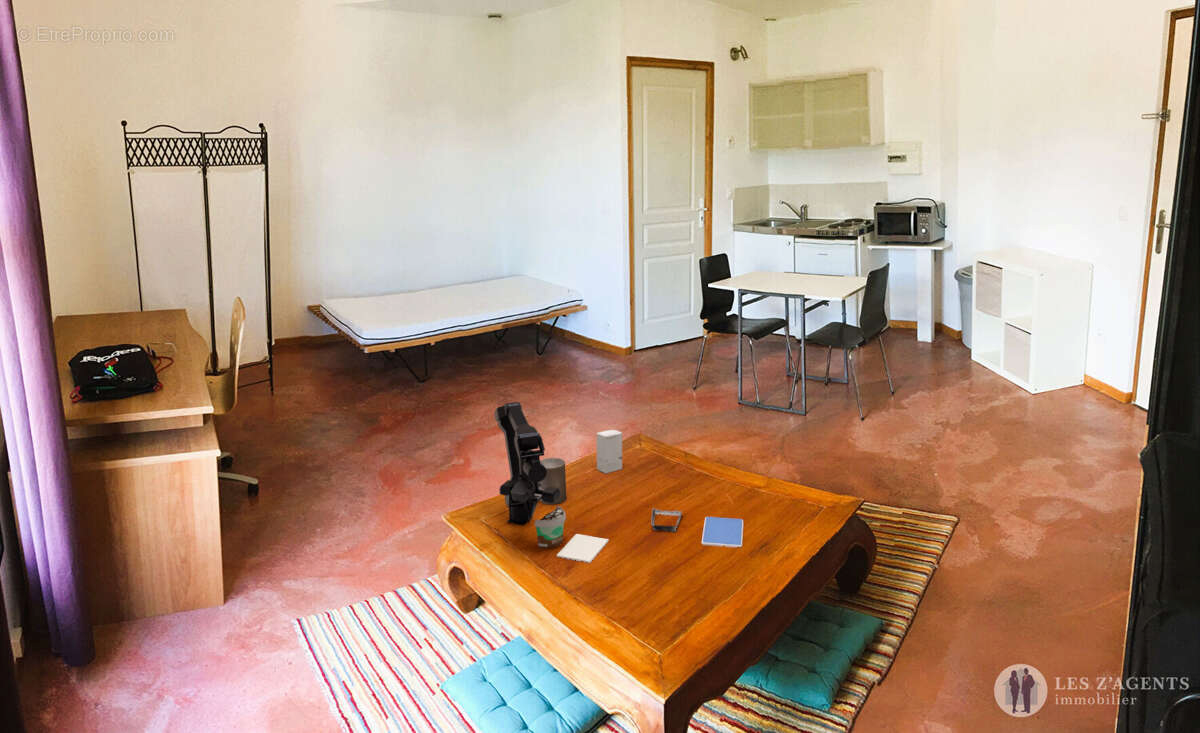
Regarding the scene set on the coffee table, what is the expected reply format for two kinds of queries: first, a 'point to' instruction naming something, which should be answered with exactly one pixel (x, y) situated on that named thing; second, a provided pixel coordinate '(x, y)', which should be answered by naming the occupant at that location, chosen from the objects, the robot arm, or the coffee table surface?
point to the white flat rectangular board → (583, 548)
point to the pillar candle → (554, 477)
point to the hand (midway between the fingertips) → (530, 516)
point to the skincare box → (609, 451)
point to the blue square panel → (722, 532)
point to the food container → (551, 528)
